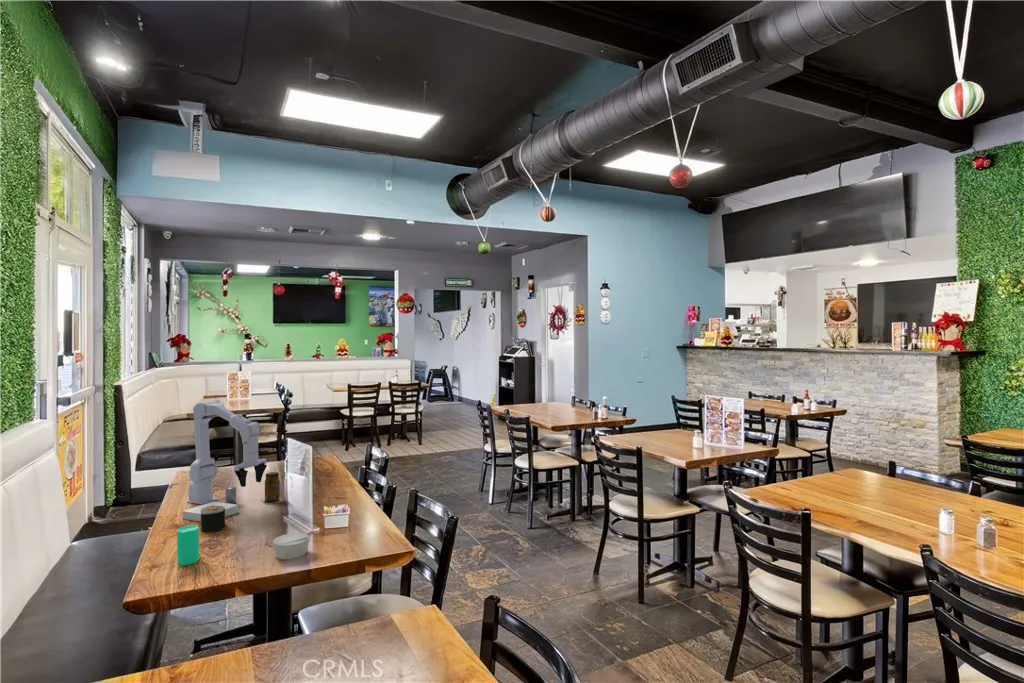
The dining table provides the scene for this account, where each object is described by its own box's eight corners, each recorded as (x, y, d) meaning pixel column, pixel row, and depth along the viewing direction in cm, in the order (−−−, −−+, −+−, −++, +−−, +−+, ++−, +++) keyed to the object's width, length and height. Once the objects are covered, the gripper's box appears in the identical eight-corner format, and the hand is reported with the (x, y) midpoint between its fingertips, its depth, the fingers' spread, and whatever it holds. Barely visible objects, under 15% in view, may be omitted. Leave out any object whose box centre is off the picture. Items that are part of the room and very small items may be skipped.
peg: (223, 505, 235) (223, 488, 235) (231, 502, 239) (231, 486, 239) (230, 506, 234) (230, 489, 234) (238, 503, 237) (238, 487, 237)
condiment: (278, 497, 246) (277, 470, 246) (284, 501, 240) (283, 474, 240) (260, 500, 242) (260, 473, 242) (266, 504, 235) (266, 476, 235)
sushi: (225, 523, 212) (225, 502, 212) (224, 530, 204) (224, 508, 204) (201, 526, 208) (201, 505, 208) (199, 533, 201) (199, 512, 200)
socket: (182, 518, 217) (182, 511, 217) (213, 508, 230) (213, 501, 230) (208, 522, 212) (208, 515, 212) (238, 512, 225) (238, 504, 225)
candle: (183, 557, 179) (182, 520, 178) (202, 557, 179) (202, 520, 179) (173, 565, 173) (173, 527, 173) (193, 564, 173) (193, 526, 173)
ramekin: (297, 562, 174) (297, 546, 174) (265, 560, 176) (265, 543, 176) (316, 549, 185) (316, 533, 185) (285, 547, 187) (285, 531, 187)
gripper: (242, 456, 222) (242, 489, 223) (271, 449, 236) (271, 481, 236) (230, 454, 225) (230, 487, 225) (259, 448, 239) (260, 479, 239)
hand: (250, 484), depth 231 cm, fingers open, 7 cm apart
